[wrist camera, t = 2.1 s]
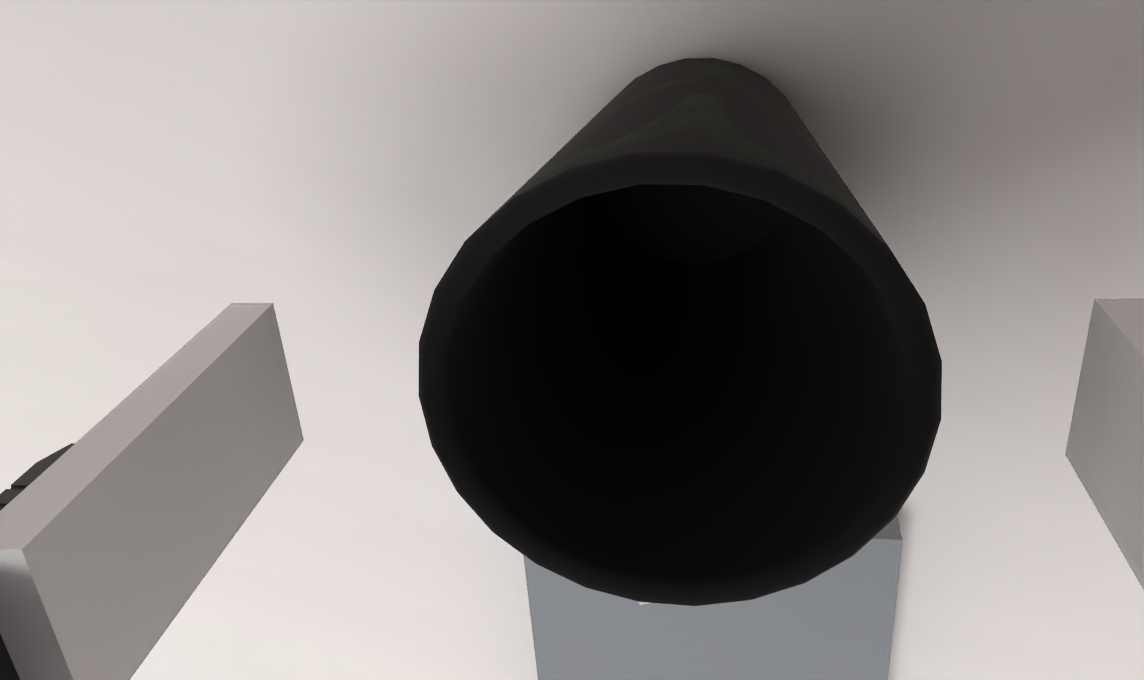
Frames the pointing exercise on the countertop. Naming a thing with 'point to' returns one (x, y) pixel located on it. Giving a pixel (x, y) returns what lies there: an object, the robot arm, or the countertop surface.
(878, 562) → the plate
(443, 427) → the cup
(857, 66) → the countertop surface
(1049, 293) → the countertop surface
